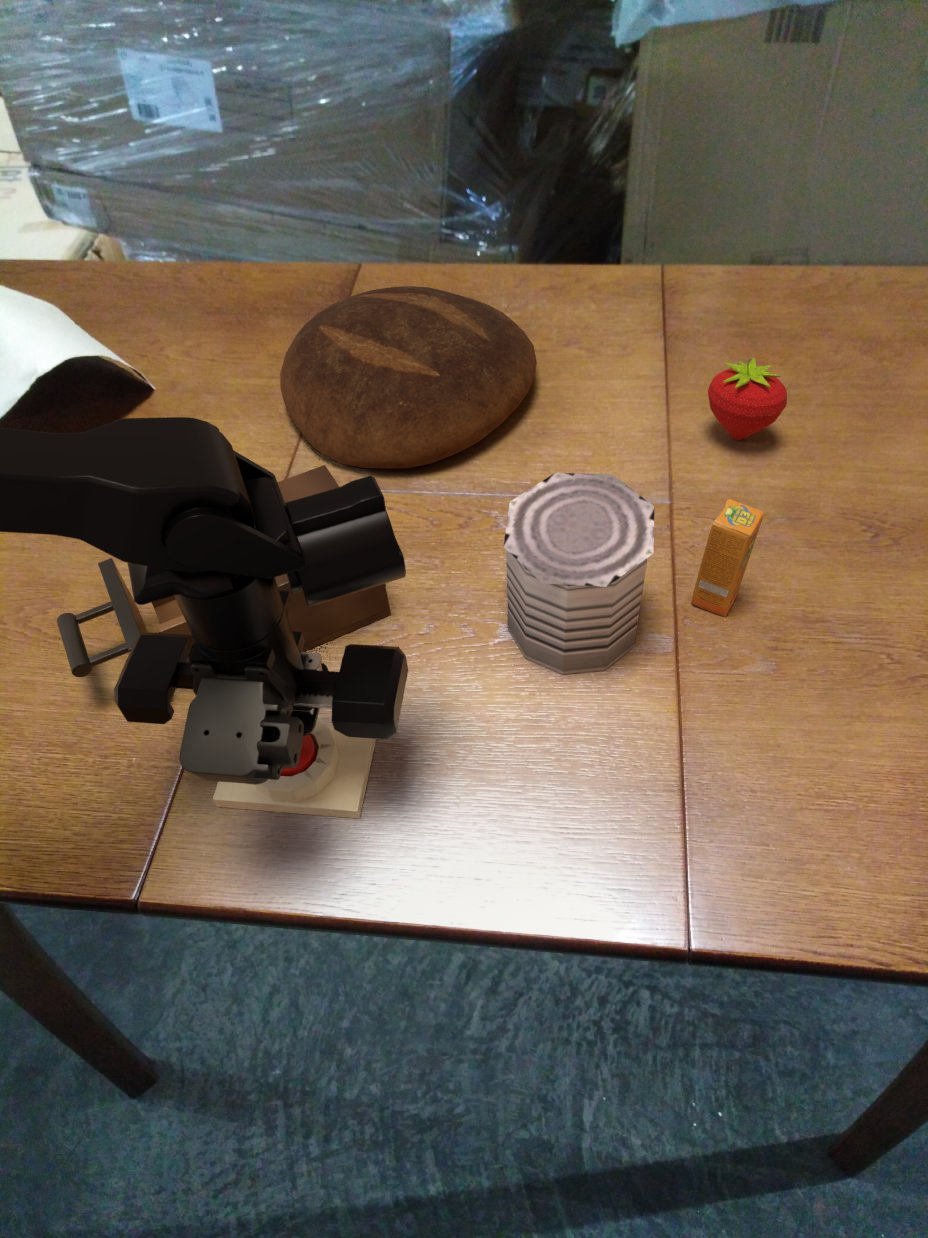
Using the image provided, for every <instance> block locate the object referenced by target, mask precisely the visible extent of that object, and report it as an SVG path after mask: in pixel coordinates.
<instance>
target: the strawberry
mask: <svg viewBox="0 0 928 1238" xmlns="http://www.w3.org/2000/svg"><path fill="white" fill-rule="evenodd" d="M724 365H725V366H726V367H729V368H726V369H724V370H722V371H721V372H719V373H717V374H716V375H714V376H713V378H712V380H711V382H710V384H709V386H708V388H707V396H708V402H709V408H710V411H711V413H712V414H713V416H714V417H715V419H716V420H717V422H718V423H719V425H720V426H721V427H722V428H723V429H724V430H725V432H726V433H727V434H728V436H730V438H731V439H732V440H735V441H742V440H745V439H746V438H748V437H749V436H752V435H754V434H757V433H759V432H761V431H763V430H765V428H767V427H769V426H771V425H772V424H773V423H775V422H776V421H777V420H778V418H779V417H780V415H781V414H782V413H783V411H784V410H785V408H786V407H787V403H788V391H787V388H786V386H785V385H784V384H783V382H781V380H780V379H779V378H781V375H779V374H776V373H772V372H769V371H767V370H768V369H769V368H770V367H771V366H772V365H771V364H770V365H760V366H759V365H758V366H757V363H756V358H755V357H753V358H752V357H751V358H750V359H749V360H748V361H747V363H744V362H743V361H741V360H739V361H738V364H734V363H729V362H724Z"/></svg>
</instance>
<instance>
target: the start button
mask: <svg viewBox="0 0 928 1238" xmlns="http://www.w3.org/2000/svg"><path fill="white" fill-rule="evenodd" d="M316 758H317V751H316V748H315V745H314V742H313V740H312V738H311V736H310V735H307V736H303V740H302V747H301V754H300V760H299V763H298V765H297V767H296V768H284V769H283V770H282V771H281V776H289V777H292V776H294V775H297V774H299V773H302V772H304V771H306V770H307V769H308V768H309V767H310V766H311V765H312V764H313V763H314V761H315V760H316Z"/></svg>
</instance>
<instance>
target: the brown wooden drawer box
mask: <svg viewBox="0 0 928 1238" xmlns="http://www.w3.org/2000/svg"><path fill="white" fill-rule="evenodd" d="M277 483H278V485H279V488H280V491H281V494H282V497H283V499H284V502H285V503H286V502H290V501H293V500H297V499H300V498H304V497H307V496H311V495H314V494H318V493H321V492H325V491H328V490H332V489H335V488H338V487H340V485H339V484H338V482H337V481H336V480H335V478H334V476H333V474H332V473H331V472H330V471H329V469H328V467H327V466H326V464H323V465H321V466H317V467H314V468H312V469H309V470H306V471H304V472H301V473H298V474H296V475H293V476H291V477H287V478H285V479H283V480H279V481H277ZM285 505H286V504H285ZM275 579H276V582H277V585H278V588H279V591H289V592H290V595H291V599H292V605H291V608H290V611H289V614H288V620H289V623H290V626H291V629H292V631H295V632H302V634H303V638H304V641H305V642H304V645H303V649H302V652H308V651H309V650H312V649H315V648H317V647H318V646H321V645H323V644H325V643H326V644H327V642H330V641H333V640H336V639H337V638H340V637H342V636H344V635H347V634H349V633H352V632H353V631H356V630H358V629H360V628H363V627H366V626H367V625H370V624H372V623H375V622H377V621H380V620H382V619H384V618H387V617H389V616H391V615H392V612H391V608H390V601H389V597H388V591H387V585H386V583H385V584H382V585H378V586H375V587H372V588H369V589H365V590H362V591H359V592H356V593H353V594H349V595H346V596H343V597H340V598H336V599H333V600H330V601H327V602H323V603H320V604H317V605H313V606H310V607H308V605H307V602H306V599H305V596H304V593H303V589H302V590H301V592H298V593H295V594H293V593H292V590H291V587H290V584H289V581H288V578H287V575H286V574H284V575H281V576H277V577H275Z"/></svg>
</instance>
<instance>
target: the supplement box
mask: <svg viewBox="0 0 928 1238" xmlns="http://www.w3.org/2000/svg"><path fill="white" fill-rule="evenodd" d="M764 516H765V512H763V511H762V510H759V509H757V508H755V507H752V506H749V505H747V504H744V503H741V502H739V501H736V500H733V499H730V498H727V500H726V502H725V505H724V506H723V508H722V509H721V511H720V512H719V514H718V516H717V517H716V518H715V520H714V521H713V523H712V525H711V527H710V531H709V535H708V537H707V542H706V545H705V548H704V551H703V555H702V559H701V563H700V566H699V569H698V574H697V577H696V580H695V586H694V588H693V593H692V596H691V600H690V601H691V602H690V603H691V604H692V605H693V606H695V607H698V608H700V609H703V610H705V611H707V612H708V611H709V612H710V613H712V614H715V615H718V616H721V617H727V615H728V613H729V611H730V609H731V608H732V607H733V604H734V602H735V600H736V598H737V596H738V594H739V591H740V588H741V585H742V581H743V579H744V576H745V573H746V570H747V566H748V564H749V560H750V558H751V556H752V555H751V554H752V552H753V549H754V546H755V543H756V539H757V537H758V534H759V531H760V527H761V525H762V522H763V520H764Z"/></svg>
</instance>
